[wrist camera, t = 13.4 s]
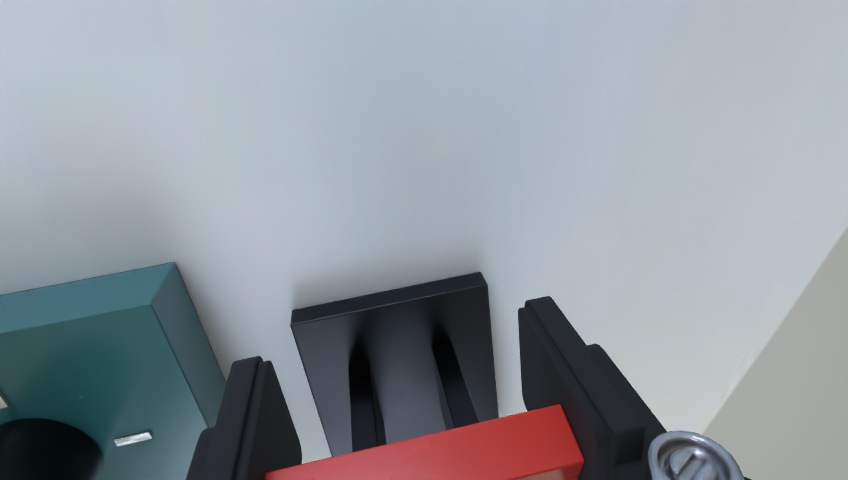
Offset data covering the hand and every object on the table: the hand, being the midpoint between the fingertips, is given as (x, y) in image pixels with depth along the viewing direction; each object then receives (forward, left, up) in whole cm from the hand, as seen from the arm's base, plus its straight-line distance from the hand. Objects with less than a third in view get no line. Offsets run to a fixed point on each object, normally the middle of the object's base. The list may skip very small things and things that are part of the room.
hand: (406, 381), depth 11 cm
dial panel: (-14, -7, -11) cm, 19 cm away
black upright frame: (0, -9, -11) cm, 14 cm away
